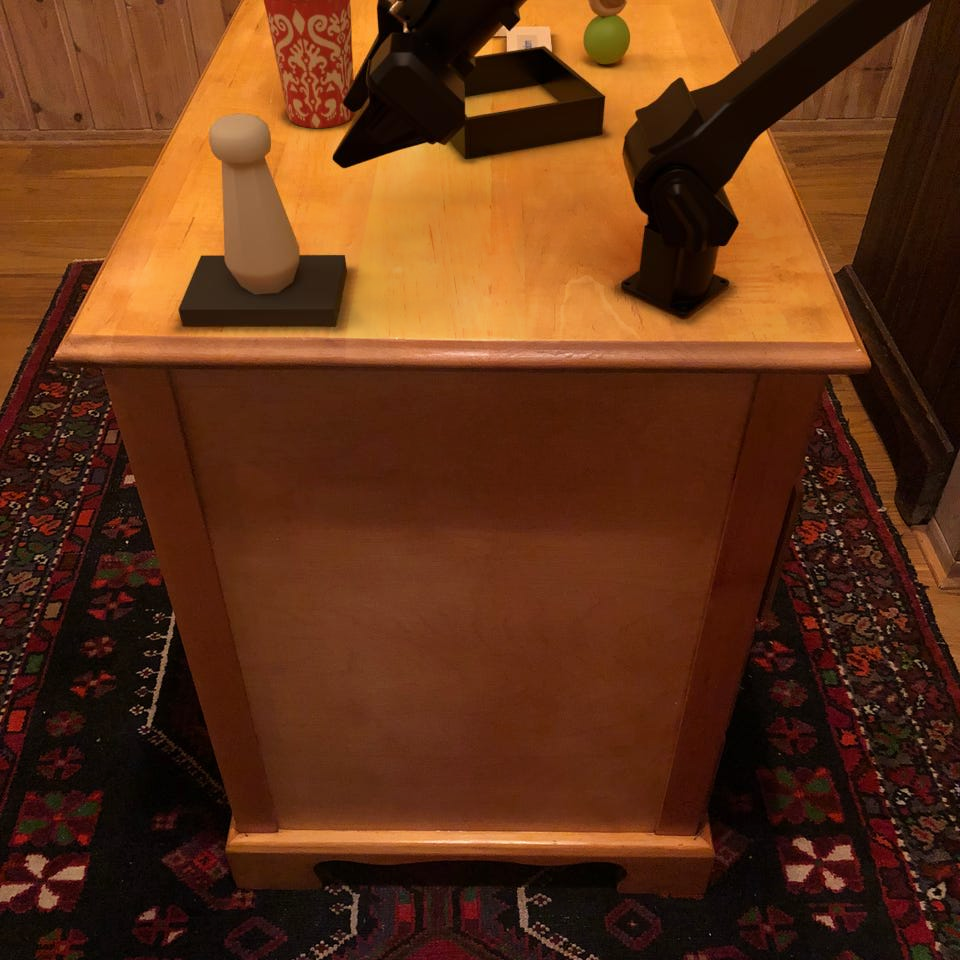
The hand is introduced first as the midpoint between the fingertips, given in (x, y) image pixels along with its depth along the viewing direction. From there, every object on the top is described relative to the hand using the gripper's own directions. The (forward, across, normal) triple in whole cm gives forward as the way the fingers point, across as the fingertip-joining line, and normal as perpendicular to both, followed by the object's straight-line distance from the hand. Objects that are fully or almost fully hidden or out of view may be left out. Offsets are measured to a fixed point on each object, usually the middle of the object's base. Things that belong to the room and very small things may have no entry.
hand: (342, 133), depth 68 cm
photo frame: (+2, -52, +17) cm, 54 cm away
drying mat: (+15, 0, +4) cm, 16 cm away
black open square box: (0, -34, +19) cm, 39 cm away
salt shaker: (+14, 0, +3) cm, 14 cm away
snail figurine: (-8, -49, +28) cm, 57 cm away
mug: (+14, -38, +5) cm, 40 cm away
